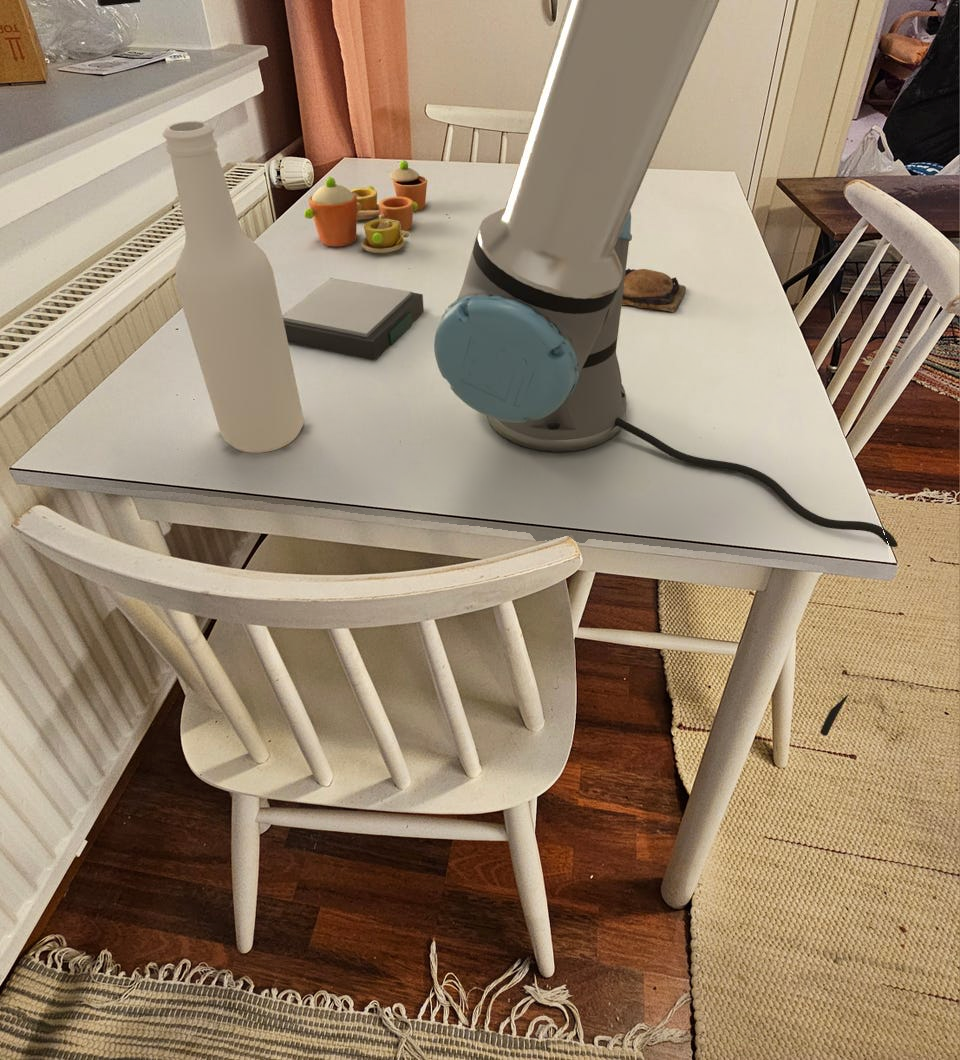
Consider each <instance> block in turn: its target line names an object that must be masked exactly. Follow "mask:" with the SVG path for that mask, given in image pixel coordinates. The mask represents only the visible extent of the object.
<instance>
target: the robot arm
mask: <svg viewBox="0 0 960 1060" xmlns="http://www.w3.org/2000/svg"><path fill="white" fill-rule="evenodd" d="M96 2H97V5H98V6H99V7H107V6H118V5H128V4H138V3H141V0H96ZM719 2H720V0H567V3H566V6H565V9H564V13H563V15H562V20H561V21H560V22H561V23H560V26H559V30H558V33H557V36H556V38H555V39H556V40H555V43H554V46H553V49H552V52H551V56H550V58H549V63H548V66H547V70H546V72H545V76H544V79H543V82H542V86H541V90H540V93H539V96H538V99H537V102H536V106H535V109H534V113H533V115H532V116H533V117H532V120H531V122H530V126H529V129H528V133H527V135H526V139H525V142H524V146H523V149H522V152H521V156H520V160H519V163H518V166H517V170H516V173H515V176H514V180H513V182H512V186H511V189H510V193H509V196H508V199H507V201H506V203H505V207H504V208H502V209H500V210H498V211H496V212H494V213H491V214H489V215H488V216H486V217H484V218H483V220H482V221H481V223H480V224H479V227H478V230H477V233H476V237H475V240H474V243H473V244H474V245H473V247H472V251H471V254H470V257H469V261H468V265H467V267H466V272H465V274H464V275H465V276H464V279H463V283H462V286H461V289H460V291H459V294H458V295H457V298H456V299H455V300H454V301H453V302H451V304H449V305H448V307H447V308H445V310H444V312H443V314H442V315H441V317H440V322H439V323H438V325H437V328H436V331H435V335H434V340H433V342H434V343H433V347H434V348H433V349H434V351H433V352H434V357H435V362H436V365H437V368H438V370H439V372H440V373H439V374H441V376H442V378H443V379H444V380H446V381H447V383H448V384H449V386H450V390H451V391H452V392H453V393H454V394H455V395H456V397H457V398H459V400H461V401H462V402H463V403H464V404H466V405H467V406H468V407H470V408H471V409H472V410H475V411H476V412H478V413H480V414H482V415H484V416H486V417H487V419H488V422H489V424H490V425H491V426H492V428H493V429H494V430H495V431H496V432H497V433H498V434H499V435H501V436H502V437H504V438H505V439H507V440H509V441H510V442H512V443H514V444H516V445H519V446H522V447H526V448H528V449H534V450H538V451H545V452H558V453H559V452H574V451H581V450H585V449H586V450H587V449H589V448H593V447H597V446H598V445H601V444H603V443H605V442H607V441H609V440H610V439H612V438H613V437H614V436H615V435H617V434H618V432H619V431H620V430H624V431H626V432H628V433H630V434H631V435H634V436H635V437H637V438H639V439H641V440H642V441H645V442H647V443H648V444H650V445H651V446H653V447H655V448H656V449H658V450H659V451H661V452H662V453H664V454H666V455H668V456H669V457H671V458H673V459H676V460H678V461H681V462H684V463H687V464H690V465H693V466H699V467H704V468H709V469H715V470H716V469H717V470H724V471H729V472H734V473H740V474H742V475H745V476H748V477H750V478H752V479H755V480H757V481H758V482H760V483H762V484H764V485H765V486H766V487H768V488H769V489H770V490H771V491H772V492H774V494H775V495H777V496H778V498H779V499H780V500H781V501H782V502H783V503H784V504H785V505H786V506H787V507H788V508H789V509H790V510H792V511H793V512H794V513H796V514H797V515H798V516H800V517H801V518H803V519H805V520H806V521H808V522H810V523H812V524H814V525H817V526H819V527H823V528H827V529H833V530H843V531H844V530H846V531H861V532H867V533H871V534H874V535H876V536H877V537H879V538H880V540H882V541H883V542H884V543H885V544H886V545H887V546H889V547H891V548H897V547H899V544H898V542H897V541H896V538H895V537H894V536H893V535H892V534H891V533H890V531H888V530H887V529H886V528H884V527H882V526H880V525H877V524H875V523H872V522H867V521H861V520H860V521H859V520H858V521H857V520H842V519H841V520H838V519H830V518H827V517H823V516H820V515H818V514H816V513H814V512H812V511H810V510H809V509H807V508H806V507H805V506H803V505H801V503H799V502H798V501H797V500H796V499H795V498H794V497H792V495H791V494H789V492H787V490H785V488H784V487H783V486H782V485H780V483H778V482H777V481H776V480H774V479H773V478H771V477H770V476H769V475H767V474H765V473H764V472H761V471H759V470H757V469H755V468H752V467H750V466H746V465H744V464H740V463H736V462H730V461H723V460H716V459H711V458H710V459H709V458H703V457H699V456H695V455H691V454H688V453H685V452H682V451H680V450H678V449H675V448H673V447H672V446H670V445H668V444H667V443H665V442H664V441H662V440H660V439H659V438H657V437H655V436H653V435H652V434H650V433H648V432H647V431H645V430H643V429H641V428H640V427H638V426H635V425H633V424H632V423H629V422H628V421H626V420H625V419H626V413H627V405H628V404H627V394H626V390H625V388H624V385H623V381H622V373H621V368H620V364H619V360H618V356H617V346H618V337H619V330H620V321H621V313H622V306H623V305H622V297H623V289H624V280H625V272H626V270H627V263H628V255H629V248H630V247H629V246H630V241H632V239H633V235H632V233H631V232H632V212H631V209H632V208H633V207H632V206H633V204H634V203H635V202H634V201H635V200H636V198H637V195H638V193H639V190H640V188H641V185H642V183H643V181H644V178H645V176H646V173H647V171H648V169H649V167H650V164H651V162H652V159H653V158H654V155H655V152H656V150H657V148H658V146H659V143H660V141H661V139H662V137H663V133H664V131H665V129H666V126H667V124H668V122H669V120H670V117H671V115H672V113H673V112H674V111H673V110H674V108H675V105H676V103H677V101H678V98H679V96H680V94H681V92H682V89H683V87H684V85H685V82H686V80H687V78H688V75H689V73H690V71H691V68H692V66H693V63H694V61H695V58H696V57H697V54H698V52H699V50H700V47H701V45H702V42H703V41H704V38H705V35H706V33H707V31H708V29H709V26H710V23H711V22H712V19H713V16H714V15H715V12H716V10H717V7H718V5H719ZM882 528H883V529H882ZM883 530H884V532H885V535H884V533H883ZM886 538H887V539H886ZM887 541H888V543H889V545H888V543H887ZM849 695H850V693H847V694H846V695H845V696H844V697H843V698H842V699H841V700H840V701H838V703H836V704H835V705H834V706H833V707H832V708H831V709H830V710H829V712H828V714H827V716H826V718H825V720H824V722H823V724H822V726H821V728H820V731H819V733H820V734H821V736H825V737H827V736H828V735H829V733H830V731H831V729H832V727H833V725H834V722H835V721H836V719H837V717H838V715H839V713H840V711H841V710H842V707H843V706H844V704H845V702H846V700H847V699H848V697H849Z"/></svg>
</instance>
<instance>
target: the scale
mask: <svg viewBox="0 0 960 1060" xmlns="http://www.w3.org/2000/svg"><path fill="white" fill-rule="evenodd" d="M424 309H425V308H424V295H423V293H417V292H412V291H409V290H403V289H399V288H392V287H388V286H387V287H386V286H382V285H381V286H380V285H376V284H370V283H369V284H368V283H363V282H357V281H352V280H346V279H342V278H341V279H339V278H334V277H329V279H327V280H326V281H324V282H323V283H322V284H321V285H320V286H318V287H317V288H316V289H314V290H313V291H312V292H310V293H309V294H308V295H307V296H305V297H304V298H303V299H301V300H300V301H299V302H297V304H295V305H294V306H293V307H291V308H290V309H288V310H286V312H284V313H283V314H282V317H283V321H284V326H285V331H286V336H287V341H288V344H294V345H299V346H304V347H307V348H312V349H313V348H314V349H318V350H323V351H327V352H328V351H329V352H333V353H338V354H343V355H348V356H353V357H358V358H362V359H368V360H373V361H376V360H377V359H378V358H379V357H380V356H381V355H382V354H383V353H384V352H385V351H386V350H387V349H388V348H389V347H390V346H393V344H395V342H397V340H399V338H400V337H402V336H403V334H404V333H406V331H408V330H409V328H410V327H411V326H412V325H413V323H414V322H415V321H416V320H417V319H418V318H419V317H420V316H421V315H422V314H423V313H424V312H425V310H424Z"/></svg>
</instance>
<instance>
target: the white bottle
mask: <svg viewBox="0 0 960 1060" xmlns="http://www.w3.org/2000/svg"><path fill="white" fill-rule="evenodd" d="M214 131H215V130H214V127H213V126H212V125H210V124H209V123H208V122H206V121H202V120H186V121H180V122H175V123H171V124H169V125H167V126H165V128H164V129H163V131H162V136H163V138H164V139H165V140H166V147H165V148H166V152H167V153H168V154H169V156H170V160H171V166H172V169H173V170H172V171H173V175H174V182H175V185H176V190H177V196H178V201H179V207H180V213H181V216H182V221H183V222H182V223H183V226H184V231H185V237H184V238H185V240H184V245H183V247H182V249H181V251H180V253H179V255H178V257H177V260H176V263H175V267H174V269H175V270H174V271H175V287H176V290H177V293H178V294H177V295H178V297H179V300H180V303H181V307H182V311H183V314H184V317H185V320H186V323H187V327H188V330H189V333H190V336H191V339H192V344H193V347H194V351H195V353H196V357H197V360H198V363H199V366H200V367H199V368H200V370H201V373H202V376H203V379H204V383H205V386H206V390H207V393H208V396H209V399H210V402H211V403H210V404H211V407H212V409H213V413H214V417H215V420H216V424H217V426H218V429H219V433H220V435H221V438H222V439H223V440H224V441H225V443H227V444H229V445H230V446H231V447H233V448H234V449H236V450H238V451H241V452H245V453H249V454H250V453H252V454H259V453H260V454H261V453H267V452H272V451H276V450H278V449H282V448H284V447H285V446H287V445H289V444H290V443H292V442H293V441H294V440H296V438H297V437H299V434H300V432H301V429H302V427H303V425H304V422H305V419H304V414H303V409H302V403H301V400H300V399H301V397H300V395H299V394H300V393H299V388H298V385H297V380H296V376H295V371H294V370H295V369H294V365H293V360H292V356H291V355H292V354H291V351H290V346H289V342H288V341H287V336H286V331H285V326H284V321H283V317H282V315H283V313H282V307H281V303H280V298H279V293H278V288H277V283H276V278H275V275H274V274H275V273H274V270H273V267H272V265H271V263H270V261H269V259H268V256H267V254H266V253H265V252H264V250H262V248H261V247H260V246H259V245H258V244H257V243H255V241H253V240H252V239H251V238H250V237H248V236H247V235H246V234H245V232H244V230H243V229H242V227H241V225H240V222H239V218H238V215H237V211H236V209H235V206H234V203H233V199H232V196H231V192H230V190H229V187H228V183H227V180H226V176H225V173H224V170H223V167H222V163H221V160H220V157H219V154H218V151H217V148H218V143H217V141H216V139H214Z"/></svg>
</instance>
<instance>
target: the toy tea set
mask: <svg viewBox="0 0 960 1060" xmlns="http://www.w3.org/2000/svg"><path fill="white" fill-rule="evenodd" d="M389 178H390V179H391V181H392V182H393V187H394V192H395V196H389V197H386V198H382V199H381V200H380V201H379V202H378V191H377V190H376V189H375V187H374V186H372V185H369V186H367V187H356V188H352V189H349V188H347V187H346V186H344V185H341V184H339V183H336V180H335V178H334V177H331V176H328V177H327V178H326V179H325V184H324V185H321V186H319V188H317V190H316V191H315V192H314V193H313V194H312V195H310V197H309V199H308V206H309V208H306V209H304V212H303V215H304V217H305V219H308V220H311V219H313V222H314V226H315V228H316V232H317V235H318V238H319V241H320V243H322V244H323V245H325V246H328V247H333V248H334V247H336V248H337V247H338V248H339V247H344V246H349V245H350V244H351V245H352V243H354V242H355V241H356V240H357V224H358V223H357V221H359V220H360V221H364V220H369V221H367V222H365V223H364V225H363V228H364V233H365V236H366V237H365V238H363V239H362V240H361V247H362V248H363V249H364V250H365V251H367V252H370V253H375V254H387V253H392V252H395V251H398V250H400V249H401V248H403V247H404V245H405V239H404V238H409V237H410V232H409V231H408V230H410V229H411V228H412V226H413V215H414V212H416V211H420V210H423V209H424V208H425V206H426V202H427V201H426V200H427V186H428V179H427V178H426V177H425V176H422V175H420V174H419V172H417V171H416V170H415V169H413V168H411V167H409V163H408V161H407V160H404V159H403V160H401V161H400V162H399V168H396V169H394V171H392V172H391V173H390V175H389ZM376 217H378V218H376ZM373 218H376V219H373ZM370 219H372V220H370Z"/></svg>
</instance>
